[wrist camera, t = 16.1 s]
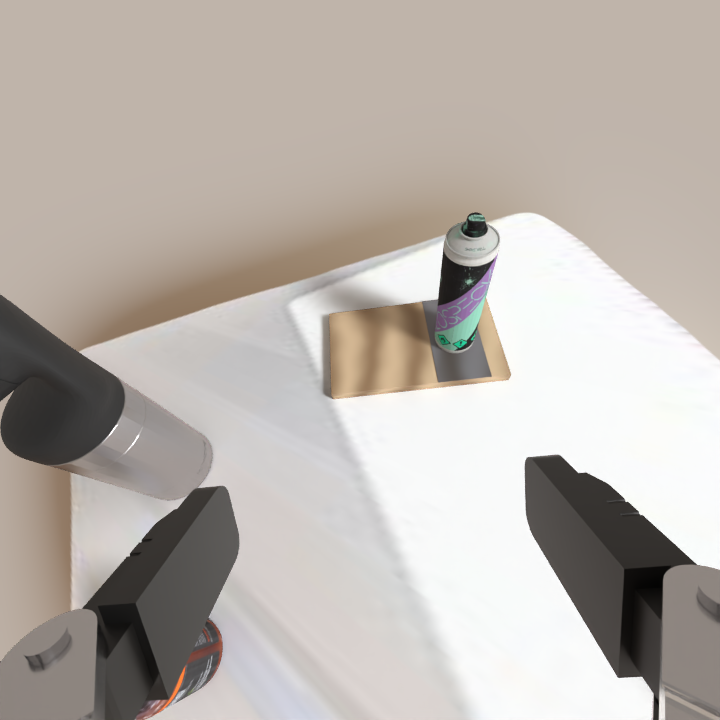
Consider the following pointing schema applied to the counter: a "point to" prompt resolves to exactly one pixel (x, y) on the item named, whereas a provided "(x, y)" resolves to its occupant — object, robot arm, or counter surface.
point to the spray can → (464, 281)
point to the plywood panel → (407, 352)
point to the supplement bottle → (192, 671)
